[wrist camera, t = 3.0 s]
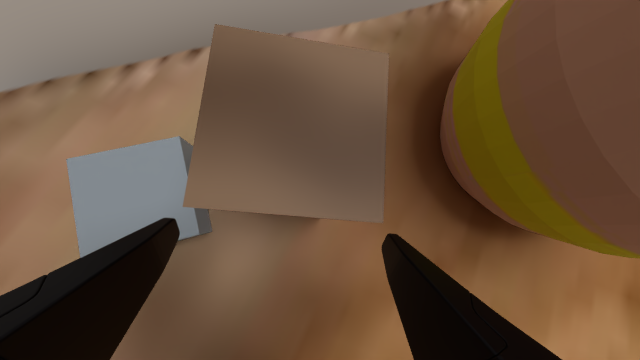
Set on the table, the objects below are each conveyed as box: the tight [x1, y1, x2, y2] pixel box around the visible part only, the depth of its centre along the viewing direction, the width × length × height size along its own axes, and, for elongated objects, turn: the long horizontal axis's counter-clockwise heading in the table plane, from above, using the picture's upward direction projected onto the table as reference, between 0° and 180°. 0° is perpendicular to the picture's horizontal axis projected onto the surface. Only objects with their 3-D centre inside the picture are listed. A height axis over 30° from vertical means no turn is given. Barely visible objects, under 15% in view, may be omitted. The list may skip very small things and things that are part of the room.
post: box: [183, 24, 389, 223], centre depth 15 cm, size 6×6×15 cm
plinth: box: [66, 136, 212, 258], centre depth 19 cm, size 8×8×3 cm
